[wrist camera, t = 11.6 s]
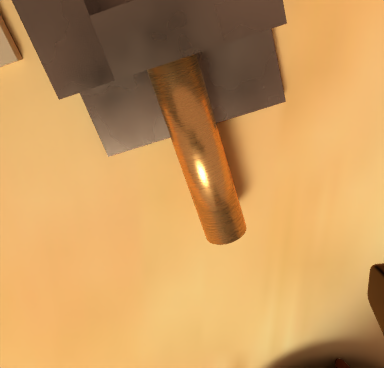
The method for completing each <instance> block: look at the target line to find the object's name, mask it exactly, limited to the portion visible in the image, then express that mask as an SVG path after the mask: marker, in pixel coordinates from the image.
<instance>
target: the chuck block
mask: <svg viewBox="0 0 384 368" xmlns="http://www.w3.org/2000/svg"><path fill="white" fill-rule="evenodd" d="M12 2H13V4H14V6H15V8H16V10H17V12H18V14H19V16H20V19H21V21H22V23H23V25H24V27H25V29H26V31H27V33H28V35H29V37H30V40H31V42H32V44H33V46H34V48H35V50H36V52H37V54H38V56H39V58H40V61H41V63H42V65H43V67H44V69H45V71H46V73H47V75H48V77H49V80H50V82H51V84H52V86H53V88H54V90H55V92H56V94H57V96H58V98H59V99H62V98H65V97H68V96H71V95H74V94H77V93H80V94H81V97H82V99H83V101H84V103H85V106H86V108H87V110H88V112H89V115H90V117H91V119H92V121H93V124H94V126H95V128H96V130H97V133H98V135H99V137H100V139H101V141H102V144H103V146H104V148H105V150H106V153H107V155H108V157H109V156H112V155H115V154H119V153H122V152H125V151H128V150H132V149H135V148H138V147H141V146H144V145H148V144H151V143H154V142H157V141H160V140H164V139H167V138H170V137H171V140H172V143H173V145H174V148H175V151H176V154H177V157H178V159H179V162H180V165H181V168H182V171H183V174H184V176H185V179H186V182H187V185H188V188H189V191H190V193H191V196H192V199H193V202H194V205H195V207H196V210H197V213H198V216H199V219H200V222H201V224H202V227H203V230H204V233H205V236H206V238H207V240H208V241H209V242H210V243H212V244H217V245H223V244H228V243H231V242H234V241H236V240H238V239H239V238H240V237H242V236H243V235H244V233H245V231H246V224H245V220H244V217H243V214H242V210H241V207H240V203H239V200H238V196H237V193H236V189H235V186H234V183H233V179H232V176H231V172H230V169H229V165H228V162H227V158H226V155H225V152H224V148H223V145H222V141H221V138H220V134H219V131H218V127H217V124H216V123H218V122H221V121H225V120H228V119H231V118H234V117H238V116H241V115H244V114H247V113H250V112H254V111H257V110H260V109H263V108H266V107H270V106H273V105H276V104H279V103H282V102H286V101H285V96H284V91H283V86H282V81H281V76H280V70H279V65H278V60H277V55H276V50H275V45H274V40H273V35H272V30H271V28H274V27H277V26H280V25H283V24H286V23H287V22H286V16H285V10H284V5H283V0H12Z"/></svg>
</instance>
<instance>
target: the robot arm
mask: <svg viewBox="0 0 384 368" xmlns="http://www.w3.org/2000/svg"><path fill="white" fill-rule="evenodd" d="M368 300H369V303H370V305H371V308H372V310H373V312H374V314H375V317H376V319H377V321H378V323H379V326H380V328H381V330H382V332H383V335H384V263H382V264H375V265H373V266H372V267H371V269H370V275H369V284H368Z"/></svg>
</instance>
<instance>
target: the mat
mask: <svg viewBox="0 0 384 368" xmlns="http://www.w3.org/2000/svg"><path fill="white" fill-rule="evenodd" d="M19 60H22V57H21V55H20V53H19V51H18V49H17V47H16V45H15V43H14V41H13V39H12V37H11V35H10V33H9V31H8V29H7V27H6V25H5V23H4V21H3V19H2V17H1V15H0V67H2V66H5V65H8V64H10V63H13V62H16V61H19Z"/></svg>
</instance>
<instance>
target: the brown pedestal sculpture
mask: <svg viewBox="0 0 384 368" xmlns="http://www.w3.org/2000/svg"><path fill="white" fill-rule="evenodd" d="M335 368H350V367H349V366H348V364H347V363H346V362H345V361H343V360H342V359H336V361H335Z"/></svg>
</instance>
